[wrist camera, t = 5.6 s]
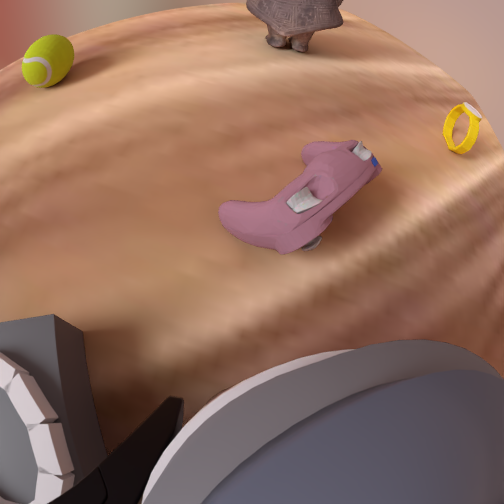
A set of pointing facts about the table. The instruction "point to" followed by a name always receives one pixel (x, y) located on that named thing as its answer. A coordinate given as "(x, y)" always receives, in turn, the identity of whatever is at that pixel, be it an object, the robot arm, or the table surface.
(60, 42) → the tennis ball
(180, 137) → the table surface
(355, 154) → the video game controller
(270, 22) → the clay figurine
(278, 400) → the grey travel tumbler
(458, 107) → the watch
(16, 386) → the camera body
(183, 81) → the table surface
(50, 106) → the table surface
